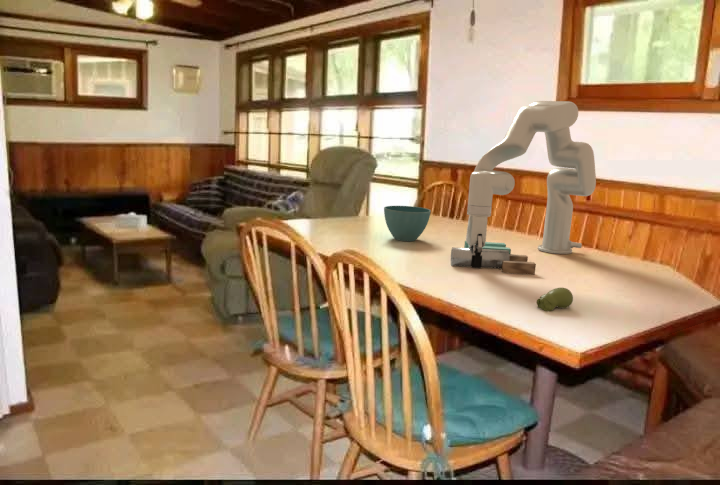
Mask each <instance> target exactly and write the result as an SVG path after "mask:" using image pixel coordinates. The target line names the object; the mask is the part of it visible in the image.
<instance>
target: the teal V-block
mask: <svg viewBox="0 0 720 485" xmlns="http://www.w3.org/2000/svg"><path fill="white" fill-rule="evenodd" d="M463 246H464V247H463V248H469V245H468V243H467V242H466V240H464V244H463ZM482 249H490V250H507V251H509V254H512V253H511V252H512V248H510V247H508V246H507V244H506V243H505V242H495V241H494V242H491V241H486V242H485V246H484V247H482Z"/></svg>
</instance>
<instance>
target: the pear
mask: <svg viewBox="0 0 720 485" xmlns="http://www.w3.org/2000/svg"><path fill="white" fill-rule="evenodd" d="M573 301H574V295H573V293H572V292H571V291H570V289H568V288H566V287H556V288H553V289H551V290H549V291H548V292H547V293H544V294H542V295H541V296H540V297H539V298H538V299H536V305H537V308H538V309H541V310H542V311H545V312H551V311H554V309H555V308H558V309H559V308H560V309H568V307H570V306H571V305H572V304H573Z"/></svg>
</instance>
